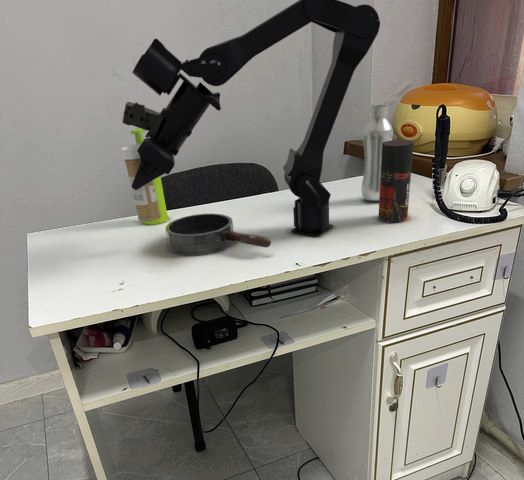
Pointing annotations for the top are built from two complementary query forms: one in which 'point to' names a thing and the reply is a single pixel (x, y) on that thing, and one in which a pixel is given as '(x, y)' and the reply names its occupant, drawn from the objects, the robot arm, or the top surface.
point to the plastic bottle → (374, 150)
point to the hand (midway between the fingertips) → (134, 185)
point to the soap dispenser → (156, 184)
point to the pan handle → (245, 238)
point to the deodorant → (395, 180)
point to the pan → (198, 234)
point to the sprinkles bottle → (144, 195)
